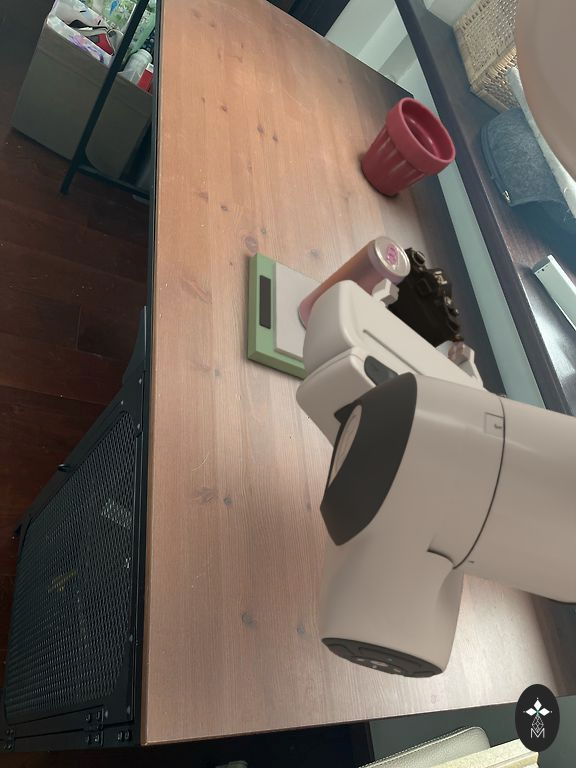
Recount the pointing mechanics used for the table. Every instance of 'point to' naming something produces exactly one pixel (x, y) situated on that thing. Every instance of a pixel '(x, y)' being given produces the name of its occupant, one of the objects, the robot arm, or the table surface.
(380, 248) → the beverage can
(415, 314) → the film camera
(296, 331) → the scale
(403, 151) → the flower pot
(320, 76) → the table surface
